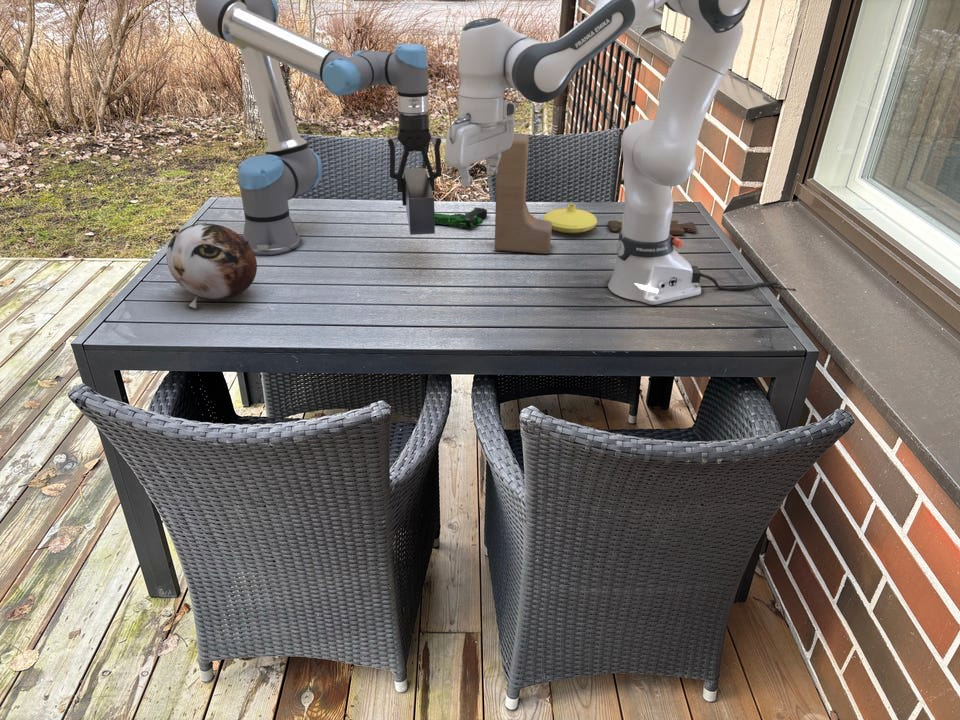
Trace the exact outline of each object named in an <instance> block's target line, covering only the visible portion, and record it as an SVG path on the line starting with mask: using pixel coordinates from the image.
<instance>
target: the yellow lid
mask: <svg viewBox="0 0 960 720" xmlns="http://www.w3.org/2000/svg"><path fill="white" fill-rule="evenodd" d="M543 220H545V221H549V222H551V223H552V230H554V231H556V232H559V233H564V234H580V233H584V232H585V233H586V232H587V231H591V230H592V229H594V228H596V226H597V223H598V219H597V217H596V215H595V214H593V213H591V212H589V211H587V210H584V209H578V208H576V205H575V204H571V203H570V204H567V208H557V209H552V210H549V211H548V212H547V213H545V214H544V216H543Z"/></svg>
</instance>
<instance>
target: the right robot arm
mask: <svg viewBox="0 0 960 720" xmlns="http://www.w3.org/2000/svg"><path fill="white" fill-rule="evenodd" d="M593 3H594V8H593V10H592V12H591V13H590V14H589V15H588V16H587V17H586V18H584V19H583V20H582V21H580V22H579V23H577V25H575V26H574V27H572V28H571V29H570V30H569V31H567V32H566V33H565V34H564V35H562V36H561V37H560V38H558V39H555V40H552V41H544V42H543V41H540V40H538V39H536V38H532V37H530V36H527V35H525V34H523V33H520V32H518V31H517V30H515V29H513V28H511V27H510V26H509V25H507V24H505V23H504V22H503V20H502V19H500V18H498V17H484V18H479V19H475V20H472V21H470V22H467V23H466V24H465V25H464V26H463V27H462V30H461V32H460V35H459V44H458V62H457V66H458V67H457V68H458V69H457V70H458V74H459V81H460V82H459V88H458V91H457V99H458V101H457V110H458V111H457V113H458V114H457V116H456V117H454V118H453V119H452V122H451V123H450V125H449V127H448V129H447V131H446V137H445V146H444V162H445V165H446V166H447V167H450V168H453V169H456V170H457V171H458V174H459V176H460V185H461V186H462V187H467V188H468V187H470V186H472V185H473V179H474V178H473V176H471V175H470V171H469V170H471V165H473V164H475V163H478V162H480V161H482V160H485V159H488V158H490V159H489V163H488V165H486V175H488V176H492V177H493V176H496V174H497V168H498V164H499V161H500V159H501V152H503V151H505V150H508V149H510V148H511V146H512V143H513V138H514V134H515V117H514V115H515V114H516V112H517V104H516V103H514V102H511V101H508V100H505V99H504V97H505V90H507V89H513V90H515V91H517V92H519V94H520V95H521V96H523V97H524V98H525V99H527V100H528V101H530V102H533V103H538V104H545V103H548V102H551V101H553V100H555V99H557V98H558V97H559V96H560V95H561V94H562V93H563V92H564V90H565V89H566V88H567V86H568V85H569V84H570V82H571V80H572V79H573V77H574V76H575V75H576V74H577V73H578V72H579V70H581V69H582V68H584V66H585V65H586V64H588V63H589V62H590V61H591V60H593V59H594V58H595V57H597V56H598V55H599V54H600V53H601V52H603V51H605V49H607V48H608V47H609V46H610V45H612V44H613V43H615V41H616V40H618V39H619V38H620V37H621V36H622V35H623V34H625V32H626V31H628V30H629V29H630V28H632V26H634V25H636V24H637V23H639V22H640V21H642V20H643V19H644V18H646V17H647V16H648V15H650V14H652V13H653V12H655V11H656V10H658V8H660V7H661V6H663V5H664V6H665V7H666V8H667V9H669V10H671V11H672V12H673V13H678V14H680V15H682V16H684V17H686V18H689V30H688V34H687V36H686V37H685V40H684V41H683V42H682V44H681V46H680V49H679V50H678V52H677V54H676V56H675V58H674V61H672V64H671V66H670V67H669V70H668V72H667V75H666V76H665V78H664V80H663V82H662V84H661V85H660V88H659V92H658V96H659V97H658V105H657V108H656V109H657V110H656V113H655V117H654V119H638V120H635V121H633V122H631V123H630V124H629V125H627V127H625V129H624V131H623V132H622V134H621V139H620V147H621V151H622V160H623V161H622V162H623V184H624V185H623V186H624V205H623V214H622V230H621V231H619V233H618V240H617V245H616V255H617V256H616V261H615V264H614V268H613V272H612V274H611V277H610V279H609V281H608V284H607V287H608V289H609V290H610V292H612V294H614V295H616V296H617V297H621V298H623V299H627V300H631V301H637V302H641V303H644V304H647V305H651V306H656V305H660V304H665V303H669V302H673V301H678V300H683V299H687V298H692V297H696V296H699V295H701V294H702V287H701V285H700V283H701V282H700V281H701V278H705V279H707V280H709V281H711V282H712V283H713V285H714V286H715V287H716V288H717V289H719V290H722V291H742V290H743V291H744V290H749V289H753V288H756V287H762V286H781V285H780V284H777V282H778V281H769V282H757V283H753V284H750V285H745V286H744V285H743V286H734V287H731V286H730V287H729V286H728V287H727V286H722V285H720V284H719V283H718V281H717V280H716V279H715V278H714V277H712V276H710V275H707V274H706V273H702V272H701V270H700V269H699V267H698V266H697V265H691V263H690V262H689V261H688V260H687V259H686V258H685V257H683V256H682V255H681V254H680V253H679V252H677V250H675V249H674V247H675V248H676V249H681V248H682V247H683V246H684V242H683V240H681V239H680V238H679V237H675V236H674V235H673V234H669V231H670V224H671V220H672V217H673V211H674V199H673V196H672V190H671V187H677V186H679V185H682V184H683V183H685V182H687V180H689V178H690V177H691V176H692V174H693V173H694V171H695V168H696V163H697V157H696V151H697V144H698V140H699V136H700V133H701V130H702V126H703V123H704V120H705V117H706V114H707V112H708V109H709V108H710V106H711V104H712V102H713V100H714V98H715V96H716V94H717V92H718V90H719V88H720V86H721V84H722V83H723V81H724V79H725V76H727V73H728V72H729V69H730V68H731V65H732V63H733V60H734V58H735V57H736V53H737V51H738V49H739V45H740V43H741V40H742V37H743V34H744V26H743V23H742V20H743V18H744V17H745V15H746V12H747V10H748V8H749V6H750V3H751V0H593Z"/></svg>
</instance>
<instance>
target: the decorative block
mask: <svg viewBox="0 0 960 720" xmlns="http://www.w3.org/2000/svg"><path fill="white" fill-rule="evenodd" d="M529 137H530V136H529V135H528V134H524V133H523V134H521V133H514V138H513V143H512V146H511V148H510V149H508V150H505V151H503V152H501V159H500V161H499V164H498V168H497V174H495V176H496V179H495V213H494V216H495V218H494V251H498V252H514V253H529V254H543V255H548V254H549V253H550V250H551V243H552V230H553V229H552V223H551V222H549V221H545V220H544V219H540V218H536V217H535V216H533V215H532V214H530V211H529V208H528V204H527V181H528V161H529V143H530V142H529V141H530V138H529Z"/></svg>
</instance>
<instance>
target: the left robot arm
mask: <svg viewBox="0 0 960 720" xmlns="http://www.w3.org/2000/svg"><path fill="white" fill-rule="evenodd" d="M278 5H279V4H278V1H277V0H195V11H196V12H195V13H196V16H197V18H198V21H199V22H200V24H201V26H202V27H203V28H204V29H205V30H206V31H207V32H208V33H210V34H211V35H213V36H214V37H216V38H218V39H220V40H222V41H225V42H227V43H229V44H231V45H233V46H235V47H236V48H238V49H239V51H240V54H241V57H242V61H243V64H244V67H245V71H246V74H247V77H248V81H249V84H250V87H251V90H252V93H253V96H254V100H255V104H256V107H257V110H258V113H259V114H258V115H259V117H260V120H261V124H262V127H263V129H264V134H265V136H266V140H267V145H266V147H265V149H264V153H265V154H259V155H257V156H256V155H253V156H249V157H248V158H246V159H244V160H243V161H241V162H240V164H239V165H238V168H237V174H238V179H237V182H238V185H239V190H240V196H241V202H242V203H241V204H242V208H243V212H244V213H243V215H244V219H245V220H244V226H243V228H244V229H243V235H240V236H241V237H243V238H244V239H245V240H246V241H249V242H248V244H249V245H250V247H251V248H252V250H253V252H254V254H255V256H256V255H257V256H275V255H281V254H282V255H283V254H285V253H289V252H291V251H293V250H296V249H297V248H298V247H299V246H300V244H301V241H300V235H299V233H298V231H297V229H296V227H295V225H294V223H293V220H292V218H291V216H290V207H289V201H290V200H292V199H294V198H296V197H299V196H301V195H302V194H306V193H308V192H310V191H311V190H312V189H314V188H316V187H317V185H319V183H320V181H321V179H322V175H323V165H322V164H323V163H322V161H321V158H320V157H319V155H318V154H317V153H316V152H315V151H314V149H312V148H310V147H309V145H308V141H307V140H306V139H304V138H303V137H301V135H300V133H299V130H298V126H297V123H296V120H295V116H294V113H293V108H292V106H291V101H290V98H289V94H288V91H287V88H286V84H285V80H284V77H283V73H282V70H281V66H280V63H281V64H284V65H286V66H288V67H290V68H292V69H295V70H296V71H299V72H301V73H303V74H305V75H308V76H309V77H312V78H313V79H315V80H317V81H320V82H322V83H323V85H324V87H325V88H326V89H327V90H328V92H329V93H330V94H332V95H335V96H349V95H352V94H354V93H356V92H359V91H362V90H366V89H368V88H372V87H375V86H391V87H396V90H397V92H396V93H397V110H398V112H399V114H398V115H397V116H398V133H397V135H396V136H393V137H391V136H388V137H387V145H388V147H389V177H390V178H391V179H394V180H396V187H397V189H396V190H397V192H398V193H401V198H402V199H401V201H402V206H405V207H406V199H405V180H404V169H406V166H407V165H406V164H407V162H408V157H409V154H410V153H411V152H421V153H420V154H421V155H422V158H423V161H424V164H425V167H426V170H427V174H428V178H429V181H430V185H431V189H432V192H435V191H436V184H435V183H436V181H435V180H436V179H437V178H441V177H442V174H443V173H442V163H441V162H442V160H441V149H440V148H441V144H442V138H441V136H440V135H437V136H436V135H432V134H431V132H430V114H429V113H428V112H429V109H430V107H429V88H428V87H429V70H428V69H429V64H428V52H427V48H426V47H425V46H424V45H423V44H419V43H401V44H397V45H396V46H395V51H394V52H388V51H376V50H371V49H365V50H355V51H354V52H353V53H352V54H351V56H347V55H345V54H343V53H341V52H338V51H336V50H334V49H332V48H330V47H329V46H326V45H324V44H322V43H320V42H317V41H316V40H313V39H311V38H308V37H306V36H304V35H303V34H300V33H298V32H296V31H294V30H292V29H289V28H288V27H285V26H283V25H281V24H278V18H279V14H280V13H279V6H278ZM279 62H280V63H279ZM398 142H399V143H400V145H402V147H403V149H402V154H401V158H400V162H399V165H398V170H397V172H396V146H398ZM429 142H431V143H432V144H431V145H433V151H434V162H435V171H434V170H433V167H432V164H431V161H430V158H429V155H428V152H427V150H426V147H427V145H429ZM179 231H180V230H179V229H178V228H173V229H172V230H171V231H170V234H177V233H178V232H179Z"/></svg>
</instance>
